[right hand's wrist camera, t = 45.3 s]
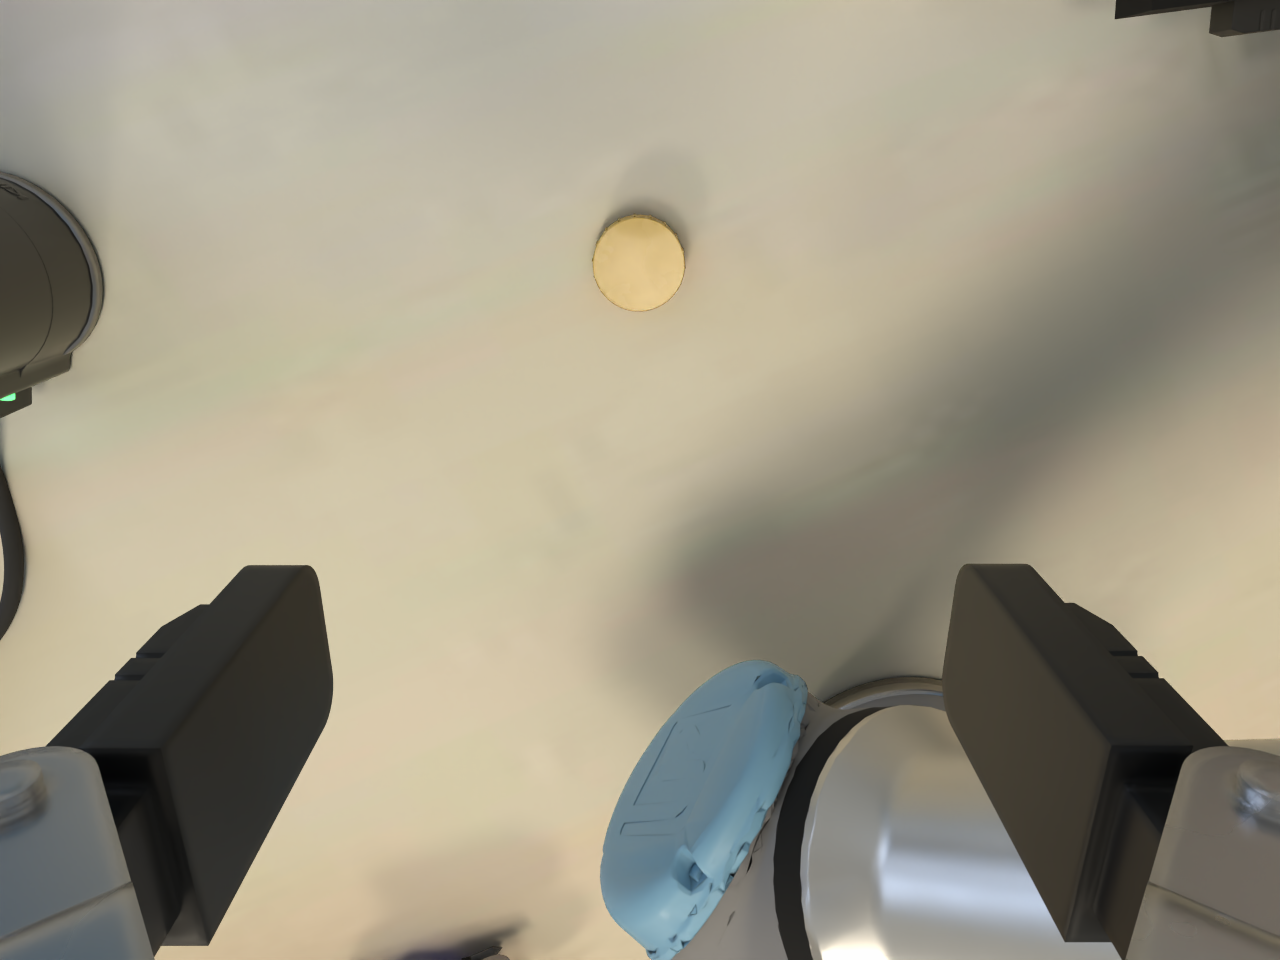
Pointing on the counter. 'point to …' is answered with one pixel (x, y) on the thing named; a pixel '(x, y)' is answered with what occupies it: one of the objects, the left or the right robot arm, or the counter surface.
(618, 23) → the counter surface
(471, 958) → the figurine character
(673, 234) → the cap
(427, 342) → the counter surface
